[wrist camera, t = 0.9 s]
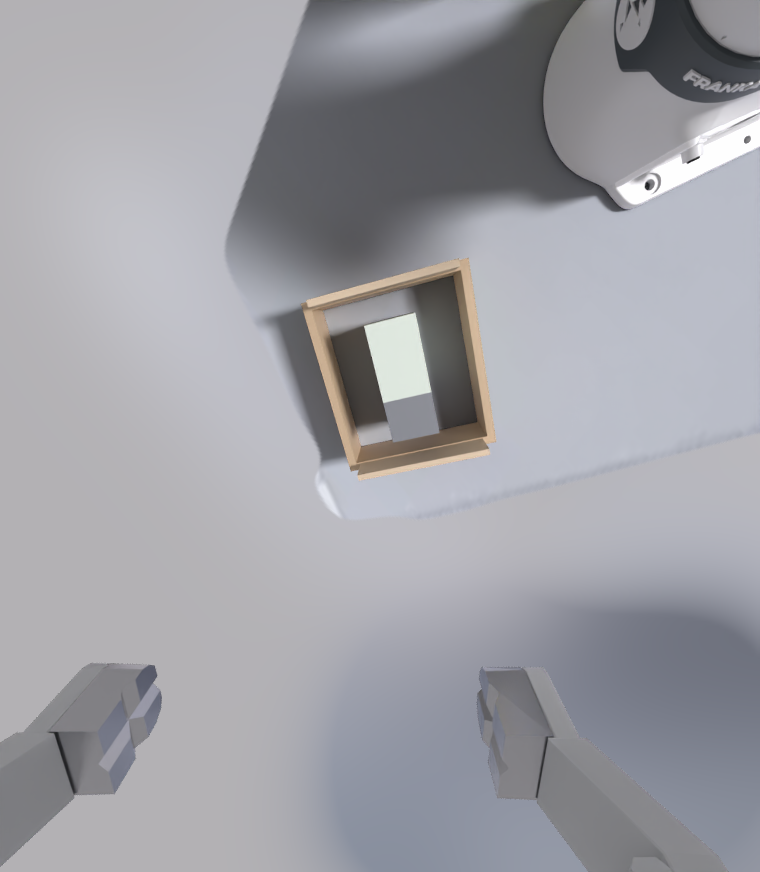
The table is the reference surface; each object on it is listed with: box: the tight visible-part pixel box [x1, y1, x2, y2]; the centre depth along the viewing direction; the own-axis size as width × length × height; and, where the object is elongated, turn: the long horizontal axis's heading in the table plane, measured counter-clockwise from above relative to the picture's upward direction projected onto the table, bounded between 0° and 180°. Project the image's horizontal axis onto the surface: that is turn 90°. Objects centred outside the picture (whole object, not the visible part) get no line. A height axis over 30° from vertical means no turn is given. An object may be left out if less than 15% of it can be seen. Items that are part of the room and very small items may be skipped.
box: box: [364, 313, 440, 443], centre depth 36 cm, size 4×11×8 cm, turn 14°
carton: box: [301, 258, 496, 481], centre depth 36 cm, size 16×18×8 cm
